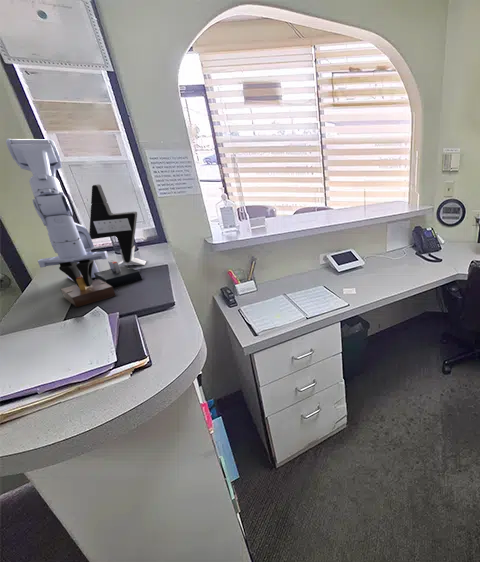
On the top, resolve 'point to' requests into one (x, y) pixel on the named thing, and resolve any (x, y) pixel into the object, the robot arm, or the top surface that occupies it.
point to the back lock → (114, 267)
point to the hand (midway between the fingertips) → (85, 286)
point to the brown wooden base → (88, 293)
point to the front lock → (81, 283)
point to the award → (113, 226)
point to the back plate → (119, 276)
